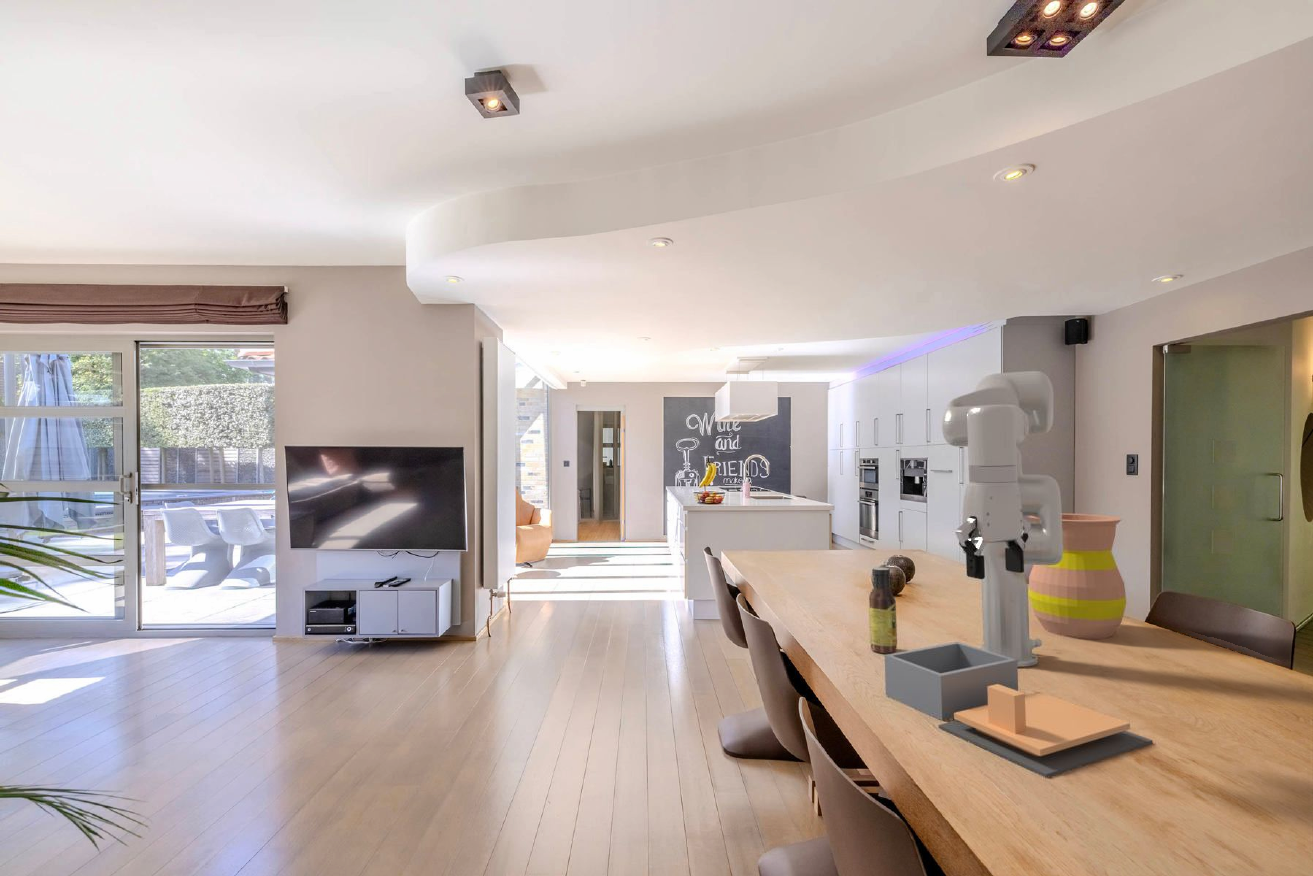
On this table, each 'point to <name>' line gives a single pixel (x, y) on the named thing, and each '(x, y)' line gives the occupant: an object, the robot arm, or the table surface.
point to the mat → (1055, 760)
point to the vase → (1080, 581)
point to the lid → (1038, 721)
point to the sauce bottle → (882, 613)
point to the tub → (947, 677)
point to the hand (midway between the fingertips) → (995, 574)
